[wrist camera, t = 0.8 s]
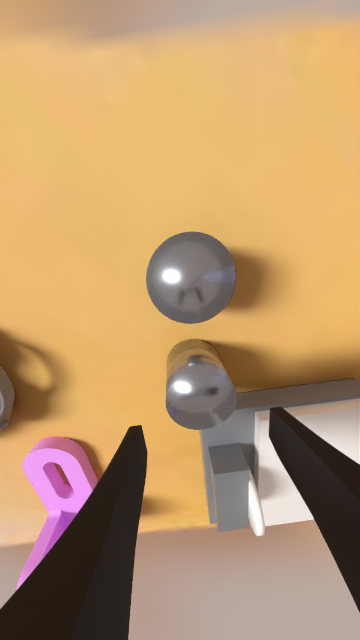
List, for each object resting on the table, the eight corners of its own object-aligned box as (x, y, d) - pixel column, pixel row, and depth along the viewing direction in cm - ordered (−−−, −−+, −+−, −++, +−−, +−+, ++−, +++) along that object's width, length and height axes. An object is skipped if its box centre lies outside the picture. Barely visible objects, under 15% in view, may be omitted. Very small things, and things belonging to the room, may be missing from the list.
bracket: (112, 509, 23) (88, 611, 16) (68, 517, 23) (26, 622, 16) (77, 431, 19) (26, 523, 12) (23, 440, 19) (-56, 537, 12)
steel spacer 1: (212, 239, 14) (235, 226, 9) (215, 300, 15) (236, 318, 11) (149, 245, 14) (139, 237, 9) (158, 307, 15) (153, 328, 10)
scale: (353, 378, 18) (445, 435, 12) (331, 485, 23) (388, 564, 17) (196, 398, 18) (209, 467, 12) (206, 502, 23) (220, 589, 17)
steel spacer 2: (217, 335, 16) (236, 366, 11) (219, 381, 18) (237, 425, 13) (163, 342, 16) (161, 375, 11) (170, 387, 18) (170, 433, 13)
